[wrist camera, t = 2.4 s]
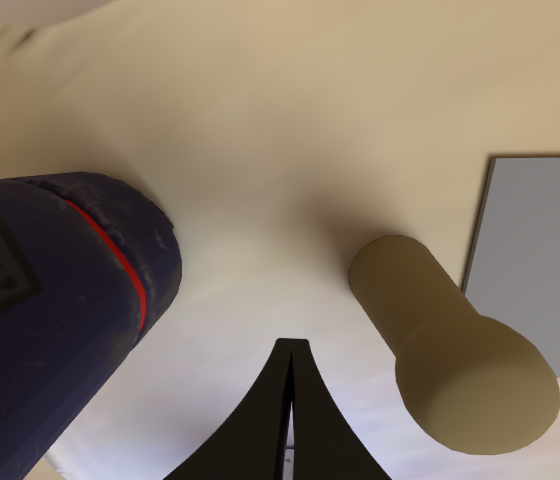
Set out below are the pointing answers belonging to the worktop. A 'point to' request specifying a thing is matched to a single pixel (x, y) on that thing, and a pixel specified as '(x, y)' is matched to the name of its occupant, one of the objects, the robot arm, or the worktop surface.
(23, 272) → the grenade
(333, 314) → the worktop surface
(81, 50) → the worktop surface
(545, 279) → the mat
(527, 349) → the cork
